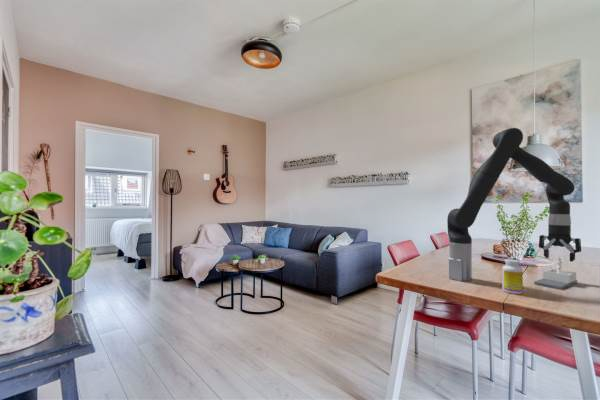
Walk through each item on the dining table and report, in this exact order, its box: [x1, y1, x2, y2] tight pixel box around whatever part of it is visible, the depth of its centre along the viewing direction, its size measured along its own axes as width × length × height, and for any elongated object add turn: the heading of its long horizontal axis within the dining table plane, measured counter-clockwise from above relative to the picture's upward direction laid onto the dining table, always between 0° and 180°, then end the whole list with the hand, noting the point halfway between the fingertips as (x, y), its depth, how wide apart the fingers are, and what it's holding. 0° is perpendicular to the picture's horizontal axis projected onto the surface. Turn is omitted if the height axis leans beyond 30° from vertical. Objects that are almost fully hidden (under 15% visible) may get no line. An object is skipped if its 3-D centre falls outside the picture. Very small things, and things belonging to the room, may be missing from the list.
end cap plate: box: [533, 268, 578, 291], centre depth 128 cm, size 20×9×5 cm, turn 122°
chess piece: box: [555, 256, 563, 273], centre depth 130 cm, size 5×5×10 cm
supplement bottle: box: [501, 258, 524, 295], centre depth 116 cm, size 7×7×13 cm
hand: (559, 259), depth 130 cm, fingers open, 8 cm apart
